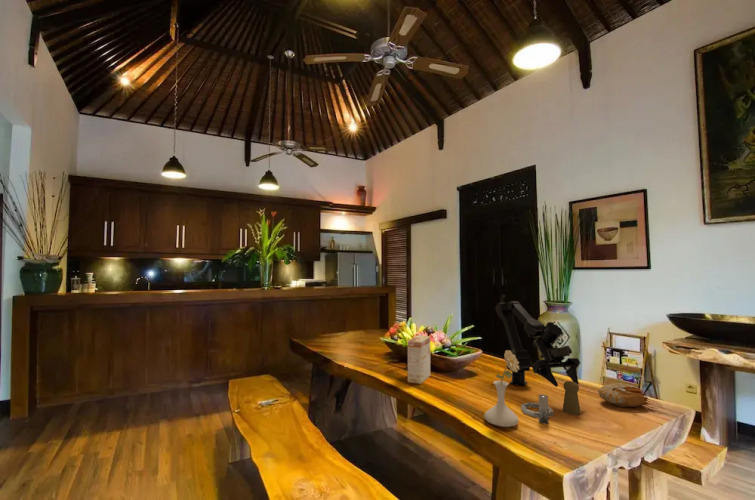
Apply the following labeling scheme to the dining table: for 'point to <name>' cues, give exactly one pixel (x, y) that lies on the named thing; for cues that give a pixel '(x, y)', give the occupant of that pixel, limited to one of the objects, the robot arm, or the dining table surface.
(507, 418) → the flower in vase
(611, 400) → the nautilus
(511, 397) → the dining table surface
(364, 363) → the dining table surface
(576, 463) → the dining table surface
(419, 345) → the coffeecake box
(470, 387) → the dining table surface
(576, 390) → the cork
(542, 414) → the octagon frame
